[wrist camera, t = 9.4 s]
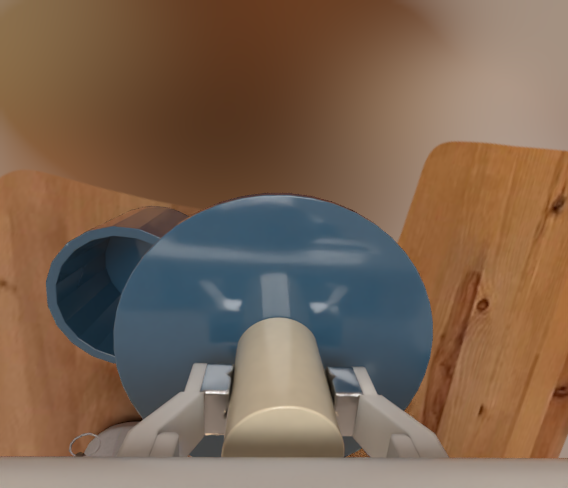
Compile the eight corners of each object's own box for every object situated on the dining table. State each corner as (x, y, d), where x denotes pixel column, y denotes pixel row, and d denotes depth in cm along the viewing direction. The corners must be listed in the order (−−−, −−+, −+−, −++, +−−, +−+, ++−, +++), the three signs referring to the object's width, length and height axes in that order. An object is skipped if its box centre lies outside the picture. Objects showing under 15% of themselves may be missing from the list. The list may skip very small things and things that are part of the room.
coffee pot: (179, 479, 46) (142, 629, 32) (94, 474, 45) (15, 627, 31) (193, 347, 41) (154, 458, 26) (95, 337, 39) (-2, 447, 25)
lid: (408, 160, 14) (521, 171, 8) (430, 424, 18) (514, 567, 12) (77, 227, 14) (-69, 291, 8) (174, 475, 18) (128, 644, 12)
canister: (200, 195, 35) (178, 212, 26) (228, 302, 39) (218, 349, 30) (83, 219, 35) (20, 244, 26) (122, 323, 39) (79, 377, 30)
